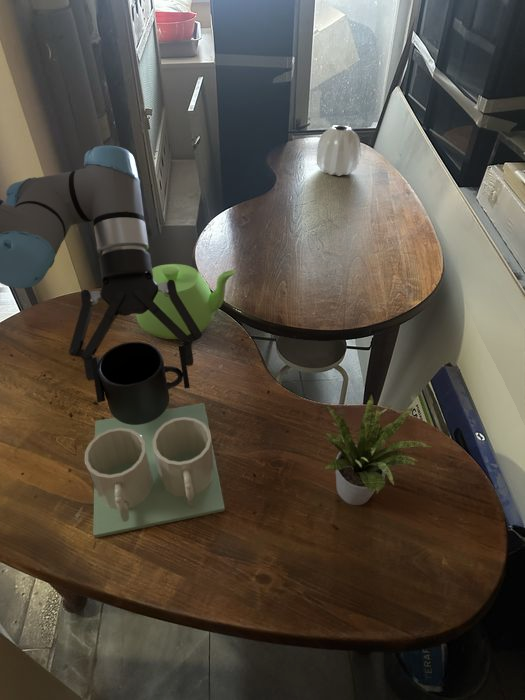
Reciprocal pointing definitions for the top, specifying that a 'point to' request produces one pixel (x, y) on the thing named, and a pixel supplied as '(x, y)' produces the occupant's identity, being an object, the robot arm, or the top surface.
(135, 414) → the mug
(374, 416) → the house plant
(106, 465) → the cream mug left
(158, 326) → the teapot
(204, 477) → the cream mug right
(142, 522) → the mug mat
